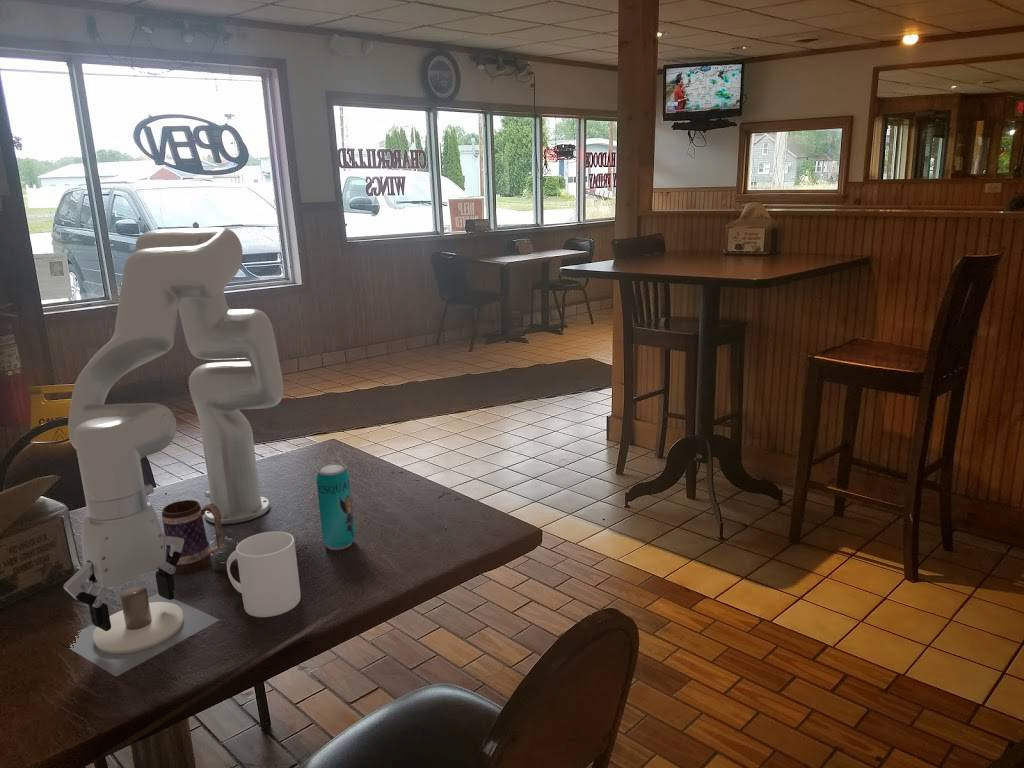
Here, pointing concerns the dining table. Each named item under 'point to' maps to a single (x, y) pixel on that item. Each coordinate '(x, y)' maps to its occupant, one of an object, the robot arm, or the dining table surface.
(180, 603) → the mat
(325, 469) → the beverage can
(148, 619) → the lid
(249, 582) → the mug
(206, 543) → the mug
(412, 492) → the dining table surface
